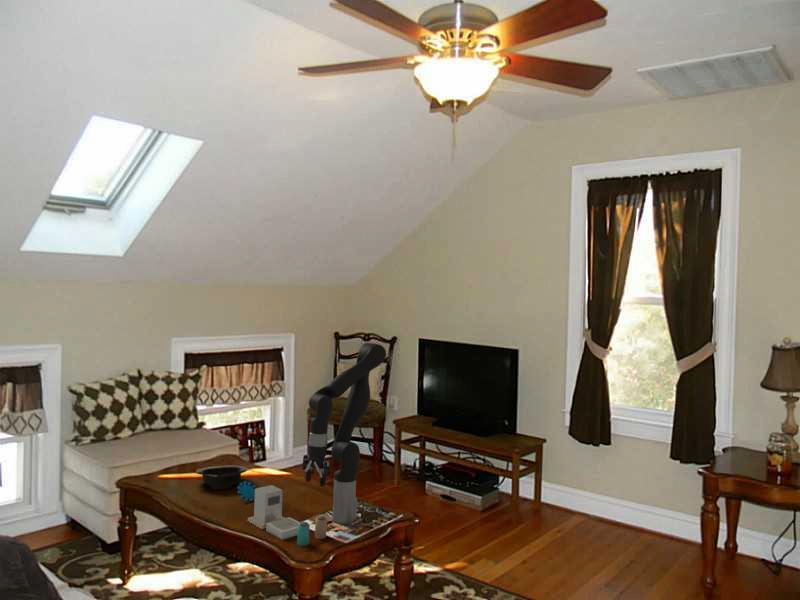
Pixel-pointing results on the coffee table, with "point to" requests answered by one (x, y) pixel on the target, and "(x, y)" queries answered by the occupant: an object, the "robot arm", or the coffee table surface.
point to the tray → (283, 528)
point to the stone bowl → (222, 476)
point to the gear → (247, 491)
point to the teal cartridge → (303, 534)
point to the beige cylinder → (320, 527)
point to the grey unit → (267, 506)
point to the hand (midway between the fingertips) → (315, 483)
